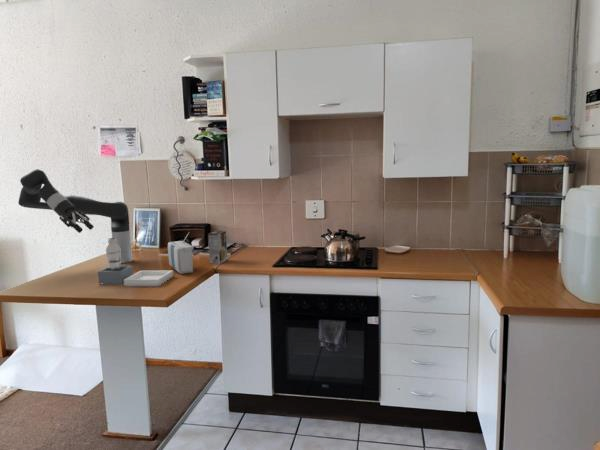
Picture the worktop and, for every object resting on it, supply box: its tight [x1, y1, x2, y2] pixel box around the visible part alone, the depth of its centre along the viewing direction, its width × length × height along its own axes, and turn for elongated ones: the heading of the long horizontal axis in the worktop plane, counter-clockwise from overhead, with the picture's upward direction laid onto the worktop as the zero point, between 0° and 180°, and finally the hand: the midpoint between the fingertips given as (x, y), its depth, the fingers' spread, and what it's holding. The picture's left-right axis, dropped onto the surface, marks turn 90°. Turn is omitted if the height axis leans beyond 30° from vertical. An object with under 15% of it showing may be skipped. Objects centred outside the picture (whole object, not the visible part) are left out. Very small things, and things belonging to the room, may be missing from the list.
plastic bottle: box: [105, 237, 122, 271], centre depth 196 cm, size 6×7×20 cm
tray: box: [123, 269, 174, 287], centre depth 195 cm, size 16×16×3 cm
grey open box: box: [97, 265, 134, 285], centre depth 197 cm, size 11×10×6 cm
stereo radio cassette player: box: [167, 231, 194, 275], centre depth 214 cm, size 21×8×20 cm, turn 29°
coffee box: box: [207, 230, 228, 265], centre depth 230 cm, size 9×6×16 cm
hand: (86, 229), depth 195 cm, fingers open, 8 cm apart
